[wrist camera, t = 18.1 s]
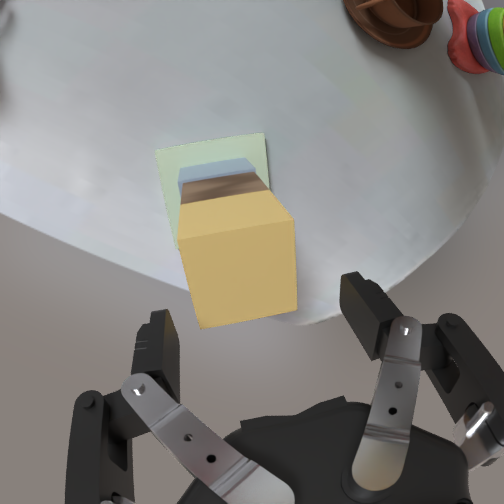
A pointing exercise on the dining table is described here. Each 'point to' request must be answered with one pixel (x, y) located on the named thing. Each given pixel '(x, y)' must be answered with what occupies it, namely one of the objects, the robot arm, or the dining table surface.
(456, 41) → the stacking bear
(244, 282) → the ochre brick
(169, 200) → the tower base
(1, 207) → the dining table surface
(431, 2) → the cup and saucer
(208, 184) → the walnut brick
